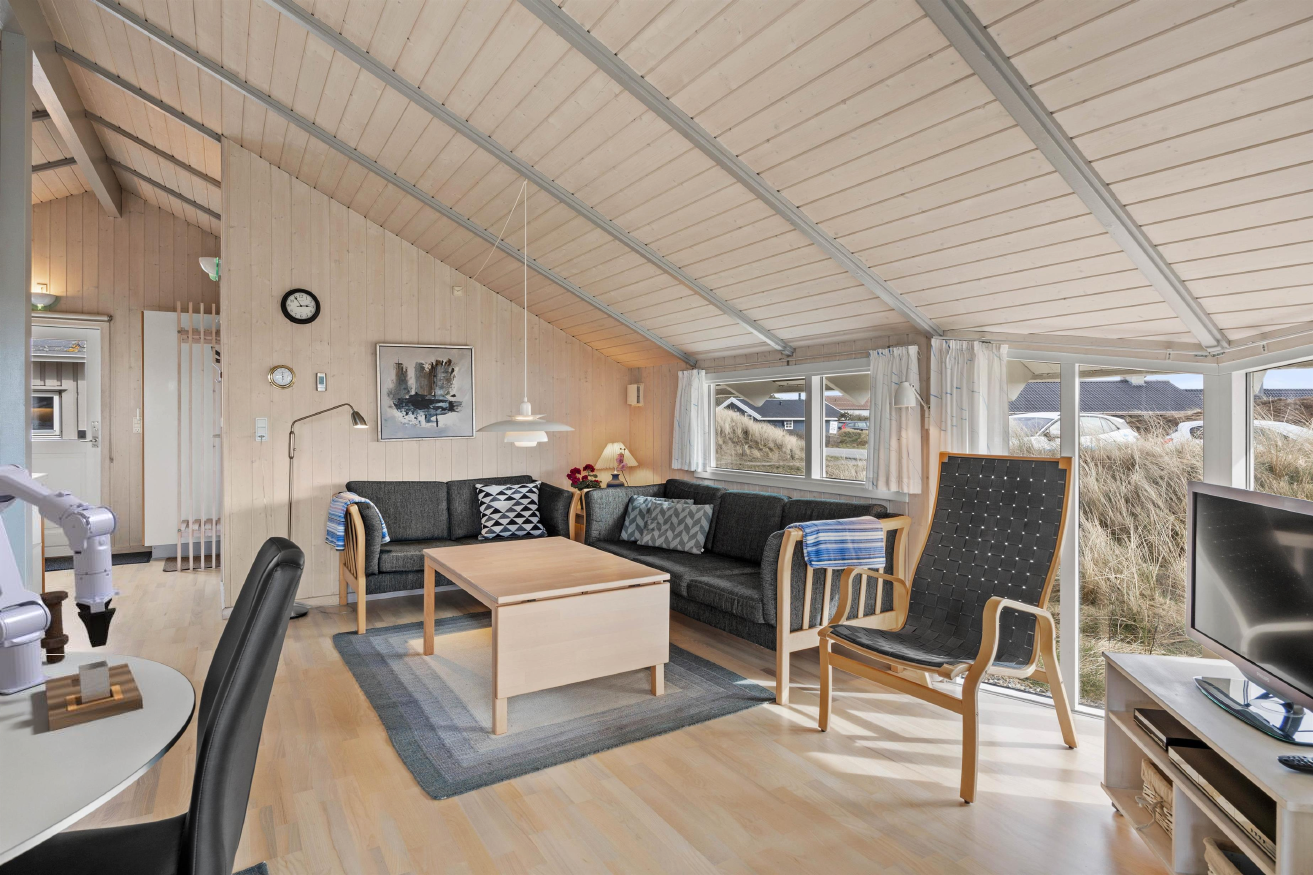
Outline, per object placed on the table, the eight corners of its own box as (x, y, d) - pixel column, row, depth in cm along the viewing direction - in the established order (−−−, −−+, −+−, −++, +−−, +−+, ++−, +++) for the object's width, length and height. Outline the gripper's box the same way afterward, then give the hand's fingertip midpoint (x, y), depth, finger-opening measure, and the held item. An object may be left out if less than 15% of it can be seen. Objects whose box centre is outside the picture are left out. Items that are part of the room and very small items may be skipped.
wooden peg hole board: (45, 690, 141) (45, 679, 141) (127, 672, 149) (127, 661, 149) (50, 731, 123) (49, 718, 123) (143, 707, 132) (142, 696, 131)
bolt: (78, 657, 159) (73, 590, 158) (57, 665, 154) (52, 596, 153) (54, 657, 160) (49, 590, 159) (32, 665, 155) (27, 596, 154)
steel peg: (81, 708, 132) (78, 665, 131) (108, 702, 135) (105, 660, 134) (83, 715, 129) (80, 671, 129) (111, 708, 132) (108, 665, 131)
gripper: (122, 574, 135) (126, 645, 136) (116, 561, 146) (119, 627, 147) (74, 581, 131) (79, 654, 131) (71, 567, 141) (75, 635, 142)
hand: (97, 640), depth 139 cm, fingers open, 7 cm apart
